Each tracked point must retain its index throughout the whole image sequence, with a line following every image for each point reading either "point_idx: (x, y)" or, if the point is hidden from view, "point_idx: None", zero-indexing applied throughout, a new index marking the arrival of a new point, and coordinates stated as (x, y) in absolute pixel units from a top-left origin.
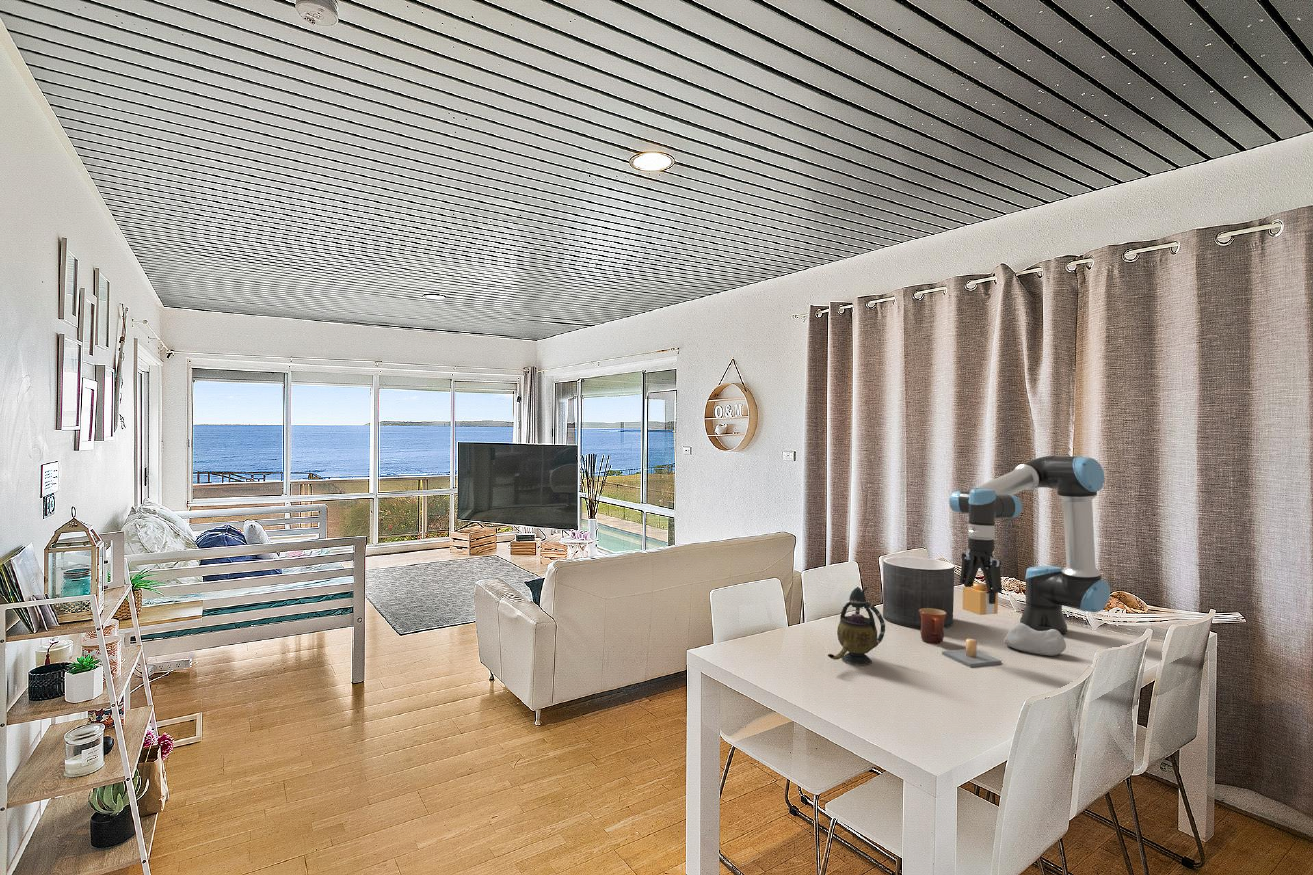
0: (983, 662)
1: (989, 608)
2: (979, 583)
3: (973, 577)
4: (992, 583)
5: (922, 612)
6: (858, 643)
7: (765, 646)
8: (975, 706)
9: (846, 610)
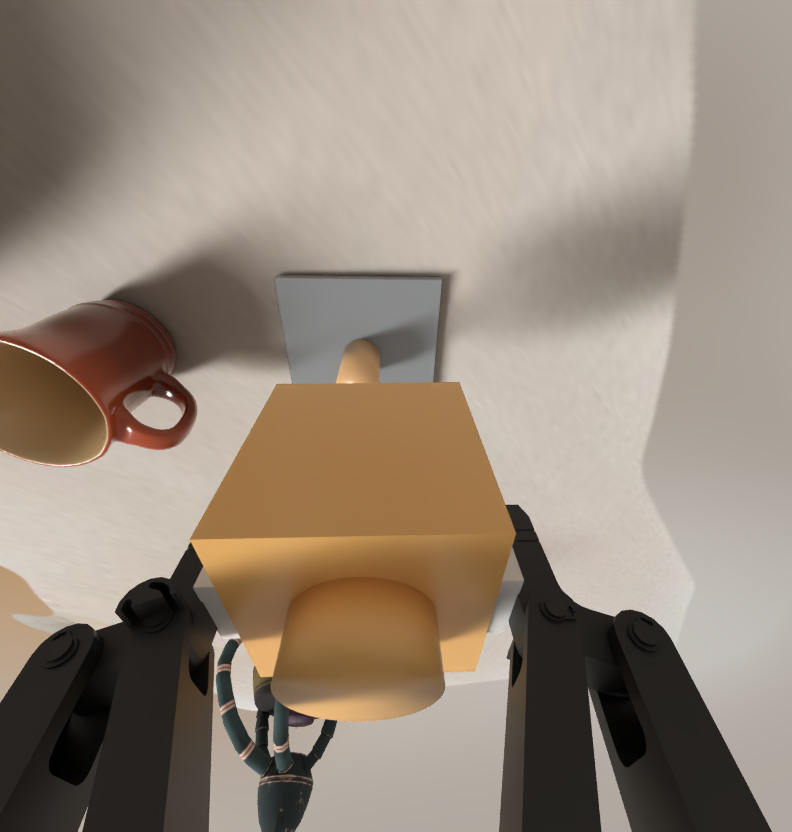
0: (433, 367)
1: None
2: (320, 682)
3: (185, 777)
4: (627, 791)
5: (67, 466)
6: None
7: (216, 660)
8: (602, 547)
9: (266, 737)
